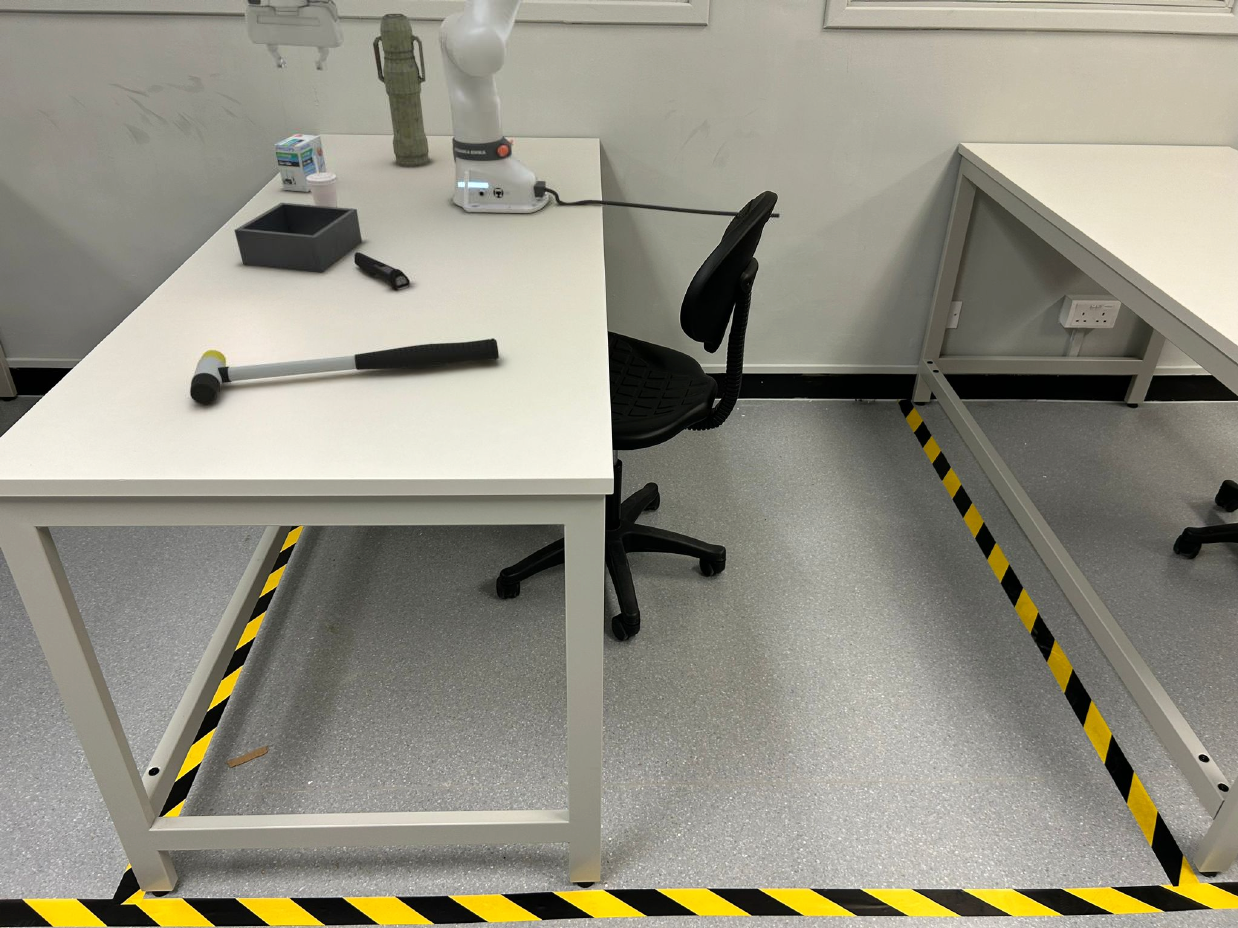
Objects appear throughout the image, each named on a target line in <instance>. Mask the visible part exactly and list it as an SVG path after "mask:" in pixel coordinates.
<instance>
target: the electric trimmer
mask: <svg viewBox="0 0 1238 928" xmlns="http://www.w3.org/2000/svg"><path fill="white" fill-rule="evenodd" d="M353 257H354V259H353V260H354V264H355V265H356V266H357V267H358V268H359V269H361V270H362V271H363V272H364V273H366V274H367V275H369V276H372V277H378V278H379V279H381V280H383V281H385V282H387V283H389V285H390V287H391V288H392V290H398V291H400V290H403V289H405V288H408V287H409V286H410V284H411V282H410V279H409V277H408V276H407V275H406V274H405V273H404V272H403V271H402V270H401V269H400V268H395V267H393V266H391V265H388V264H387V263H384V262H381V261H379V260H377V259H375V258H373V257H370V256H368V255H366V254H364V253H362V252H358V251H356V252H355V253H354V256H353Z"/></svg>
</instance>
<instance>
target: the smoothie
mask: <svg viewBox="0 0 1238 928" xmlns="http://www.w3.org/2000/svg"><path fill="white" fill-rule="evenodd" d="M313 157H314V162H315V167H316V173H315V174H311V175H309V176H307V177H306V180H307V184H309V187H310V192H311V196H312V198H313V199H312V200H313V201H314V205H315V206H326V207H338V193H337V192H338V191H337V182H338V177H337V174H335V173H332V172H327V173H319V169H318V164H317V158H316V156H313Z"/></svg>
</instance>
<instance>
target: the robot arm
mask: <svg viewBox="0 0 1238 928" xmlns="http://www.w3.org/2000/svg"><path fill="white" fill-rule="evenodd" d="M465 1H466V2H465V5H464V8H463V10H462V11H457V12H454V13H452V14H449V15H447V17H445V19H443V21H442V22H441V24H440V27H439V30H438V41H439V42H438V43H439V47H440V53H441V59H442V66H443V71H444V76H445V82H446V85H447V86H446V87H447V91H448V96H449V103H450V111H451V121H452V132H453V137H452V139H451V143H452V155H453V161H454V164H455V179H454V180H455V181H454V192H453V196H452V202H453V203H454V204H455V205H457V206H459V207H461V208H463V210H464V211H465V212H467V213H500V214H501V213H502V214H505V213H506V214H532V213H535V212H537V211H540V210H541V209H543V208H544V207H545V206H546V205H547V204H548V202H549V200H550V196H549V194H551V195H553V196H554V199H555V203H557V204H558V205H559V206H582V205H604V206H615V207H626V208H637V209H644V210H645V209H646V210H656V211H664V212H665V211H666V212H673V213H674V212H675V213H683V214H684V213H685V214H686V213H687V214H695V215H697V214H698V215H708V216H709V215H710V216H725V217H738V216H737V215H738V214H739V213H740V212H741V211H726V210H725V211H724V210H709V209H697V208H684V207H676V206H675V207H674V206H666V205H665V206H664V205H655V204H644V203H636V202H635V203H634V202H623V201H614V200H604V199H603V200H602V199H601V200H600V199H583V200H577V201H574V202H565V201H563V200H560V195H559V193H558V192H557V191H556V190H554V189H552V188H548V187H547V186H546V182H547V181H546V180H538V178H537V174H536V172H535V171H534V170H533V169H531V168H530V167H529V166H528V165H526V164H525V163H524V162H522V161H521V160H520V159H518V157H516V156H515V155H514V154H513V150H512V149H513V148H512V147H513V146H514V143H513V142H514V139H511V140H510V141H509V140H508V139H507V138H506V137H505V136H504V135H503V119H502V117H503V116H502V104H501V103H502V102H501V97H500V95H499V90H498V86H497V82H496V77H495V75H496V74H497V73H499V71H500V70H501V69H502V67H503V65H504V63H505V61H506V55H507V48H508V44H509V43H510V42H509V41H510V39H511V36H512V33H513V30H514V26H515V22H516V19H517V16H518V13H519V10H520V8H521V5H522V2H524V0H465ZM243 3H244V4H245V6H246V7H245V8H244V21H245V22H244V23H245V27H246V32H247V36H248V38H249V40H250V41H251V42H252V44H256V45H266V48H267V51H268V53H269V54H270V56H271V57H272V58H273V60H274V63H275V67H276V68H277V69H285V68H287V60H286V57H282V55H281V53H280V52H279V48H280V47H279V46H290V47H310V48H311V47H313V48H317V52H318V53H319V59H318V60H315V62H314V63H315V69H316V70H317V71H327V70H328V66H327V59H328V56H329V53H330V49H335V48H338V47H341V46H342V45H343V44H344V43H343V42H344V35H343V34H344V33H343V30H342V26H341V21H340V19H339V12H338V6H337V4H336V3H335V1H334V0H243ZM770 213H771V212H770ZM780 215H781V214H780V213H778V212H777V213H775V212H772V213H771V216H769V217H768V218H771V219H773V218H775V219H776V218H778V219H779V218H780Z"/></svg>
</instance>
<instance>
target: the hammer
mask: <svg viewBox="0 0 1238 928" xmlns="http://www.w3.org/2000/svg"><path fill="white" fill-rule="evenodd" d="M499 358H500V355H499V346H498V341H497V339H495V338H494V337H492V338H487V339H480V340H472V341H461V342H459V341H458V342H440V343H425V344H416V345H408V346H402V347H396V348H389V349H382V350H376V351H370V352H363V353H356V354H354V355H346V356H335V357H325V358H314V359H313V358H312V359H303V360H293V361H283V362H282V361H281V362H271V363H260V364H249V365H243V366H242V365H240V366H227V358H226V356H225V355H224V354H223V353H222V352H221V351H219V350H216V349H209V350H206V351H205V352H203V354H202V355H201V357H200V359H199V360H198V362H197V364H196V368H195V370H194V373H193V376H192V378H191V381H190V390H189V395H190V396H189V397H191V399H192V400H193V401H194V402H195V403H198V404H201V405H208V404H211V403H213V402H214V401H215V399H216V398H217V396H218V394H219V392H220V390H221V387H222V384H225V383H227V384H228V383H232V382H239V381H248V380H259V379H268V378H278V377H279V378H280V377H289V376H290V377H291V376H298V375H308V374H319V373H330V372H340V371H352V370H357V371H364V370H365V371H367V370H368V371H369V370H391V369H416V368H418V369H419V368H427V367H428V368H429V367H436V366H437V367H438V366H443V365H444V366H445V365H452V364H458V363H460V364H461V363H464V362H465V363H467V362H477V361H493V360H494V361H497V360H498V359H499Z"/></svg>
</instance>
